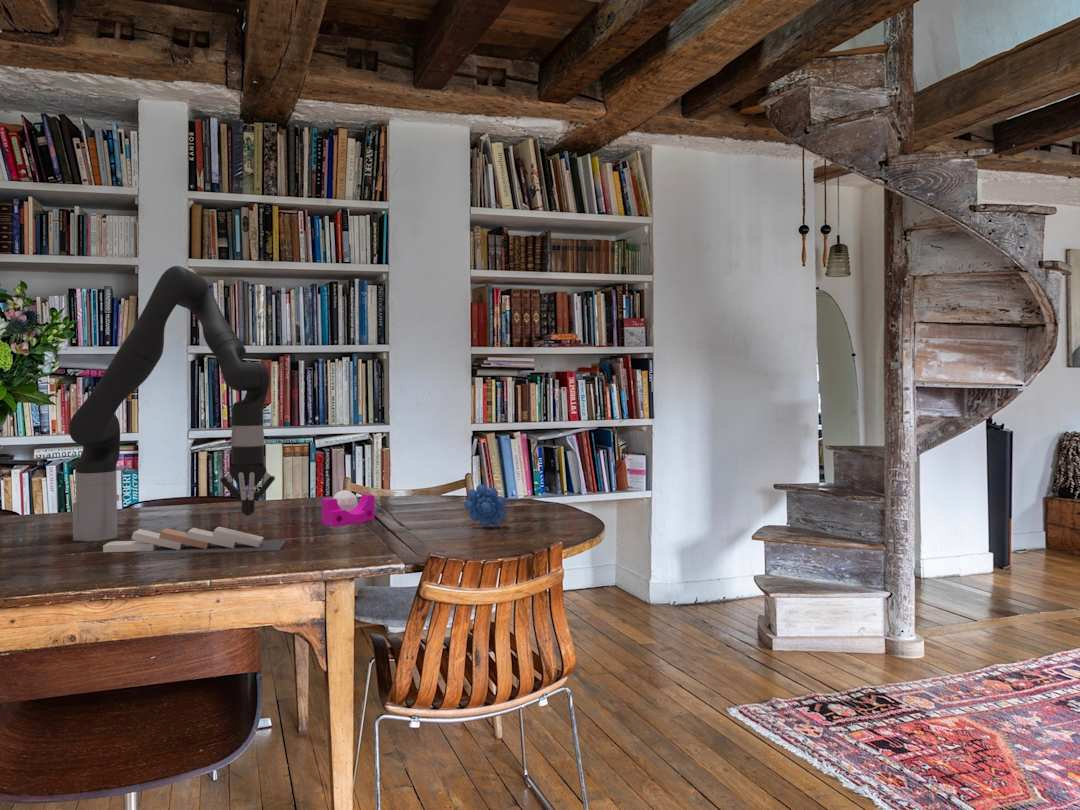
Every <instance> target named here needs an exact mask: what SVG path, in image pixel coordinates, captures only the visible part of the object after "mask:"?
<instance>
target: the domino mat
mask: <svg viewBox="0 0 1080 810" xmlns="http://www.w3.org/2000/svg"><path fill="white" fill-rule="evenodd" d="M286 542H287V540H286V539H283V540H263V542H262V544H261V545H260V546H259V547H254V546H250V545H246V544H242V543H237V545H236V546H235V547H234V548H230V547H225V546H221V545H216V544H212V543H211V545H210V546H209V547H208V548H207V549H204V548H199V547H195V546H191V545H186V544H185V546H184V547H183V548H181V549H180V550H177V549H173V548H168V547H164V546H159V547H158V548H157V549H155V550H154V551H137V552H136V553H135V556H144V555H178V554H179V555H182V554H183V555H185V554H186V555H187V554H217V553H218V554H219V553H225V554H226V553H253V552H252V551H265V552H280V551H279V550H281V549H282V548H283V546H284V545H285V544H286ZM283 544H284V545H283ZM281 547H282V548H281Z"/></svg>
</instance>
